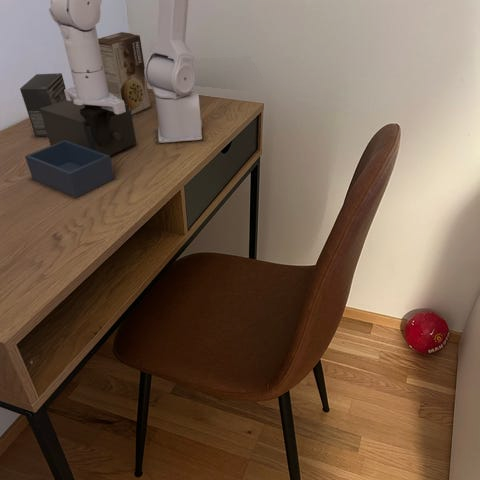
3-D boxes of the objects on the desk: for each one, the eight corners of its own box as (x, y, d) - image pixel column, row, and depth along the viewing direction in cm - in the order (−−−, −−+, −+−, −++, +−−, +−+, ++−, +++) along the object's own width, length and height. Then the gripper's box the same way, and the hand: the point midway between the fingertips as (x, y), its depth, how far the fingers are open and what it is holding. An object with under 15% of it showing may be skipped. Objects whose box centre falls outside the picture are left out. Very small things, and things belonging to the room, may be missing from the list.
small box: (48, 120, 115) (35, 72, 108) (75, 119, 115) (63, 72, 107) (33, 137, 107) (17, 87, 100) (61, 136, 107) (48, 87, 100)
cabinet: (135, 144, 103) (128, 104, 97) (92, 164, 96) (82, 121, 90) (94, 131, 109) (85, 92, 103) (51, 149, 102) (39, 108, 96)
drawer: (140, 144, 101) (135, 111, 96) (101, 162, 94) (94, 128, 90) (98, 130, 107) (91, 99, 102) (59, 146, 100) (49, 114, 96)
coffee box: (133, 102, 123) (121, 31, 112) (151, 107, 120) (141, 34, 109) (107, 113, 118) (92, 39, 107) (125, 118, 115) (111, 42, 104)
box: (114, 178, 91) (109, 155, 87) (76, 197, 85) (69, 173, 82) (71, 162, 97) (65, 139, 93) (32, 178, 91) (24, 155, 88)
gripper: (43, 68, 85) (64, 142, 94) (96, 81, 78) (113, 160, 88) (75, 59, 89) (91, 131, 98) (128, 70, 83) (140, 147, 92)
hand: (103, 144), depth 93 cm, fingers closed
